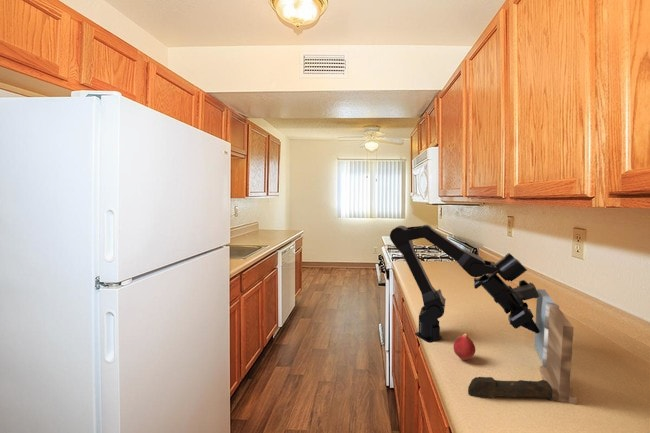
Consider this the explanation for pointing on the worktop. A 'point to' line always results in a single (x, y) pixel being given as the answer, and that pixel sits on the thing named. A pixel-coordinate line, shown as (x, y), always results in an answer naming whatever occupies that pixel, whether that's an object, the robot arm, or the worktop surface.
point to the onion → (464, 347)
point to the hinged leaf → (541, 321)
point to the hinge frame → (558, 354)
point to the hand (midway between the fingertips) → (537, 330)
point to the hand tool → (509, 388)
